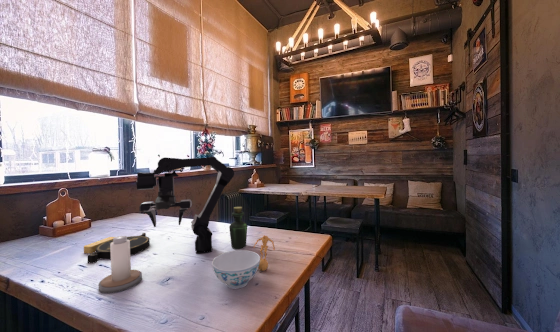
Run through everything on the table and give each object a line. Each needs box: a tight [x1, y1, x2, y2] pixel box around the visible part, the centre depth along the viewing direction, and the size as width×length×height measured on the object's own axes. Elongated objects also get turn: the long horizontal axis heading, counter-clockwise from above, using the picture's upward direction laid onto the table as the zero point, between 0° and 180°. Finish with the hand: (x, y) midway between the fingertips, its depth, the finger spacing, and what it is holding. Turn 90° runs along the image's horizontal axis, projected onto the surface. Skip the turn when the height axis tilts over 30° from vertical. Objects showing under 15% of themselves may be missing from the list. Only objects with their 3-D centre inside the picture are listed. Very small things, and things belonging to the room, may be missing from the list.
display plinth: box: [98, 269, 143, 294], centre depth 75 cm, size 12×12×2 cm
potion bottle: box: [229, 206, 248, 250], centre depth 105 cm, size 8×8×18 cm
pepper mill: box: [110, 235, 132, 281], centre depth 75 cm, size 5×5×13 cm
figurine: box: [253, 234, 276, 272], centre depth 83 cm, size 8×6×12 cm
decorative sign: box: [83, 232, 151, 264], centre depth 105 cm, size 29×3×25 cm
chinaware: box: [211, 249, 261, 290], centre depth 73 cm, size 15×15×8 cm
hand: (167, 225), depth 95 cm, fingers open, 9 cm apart
